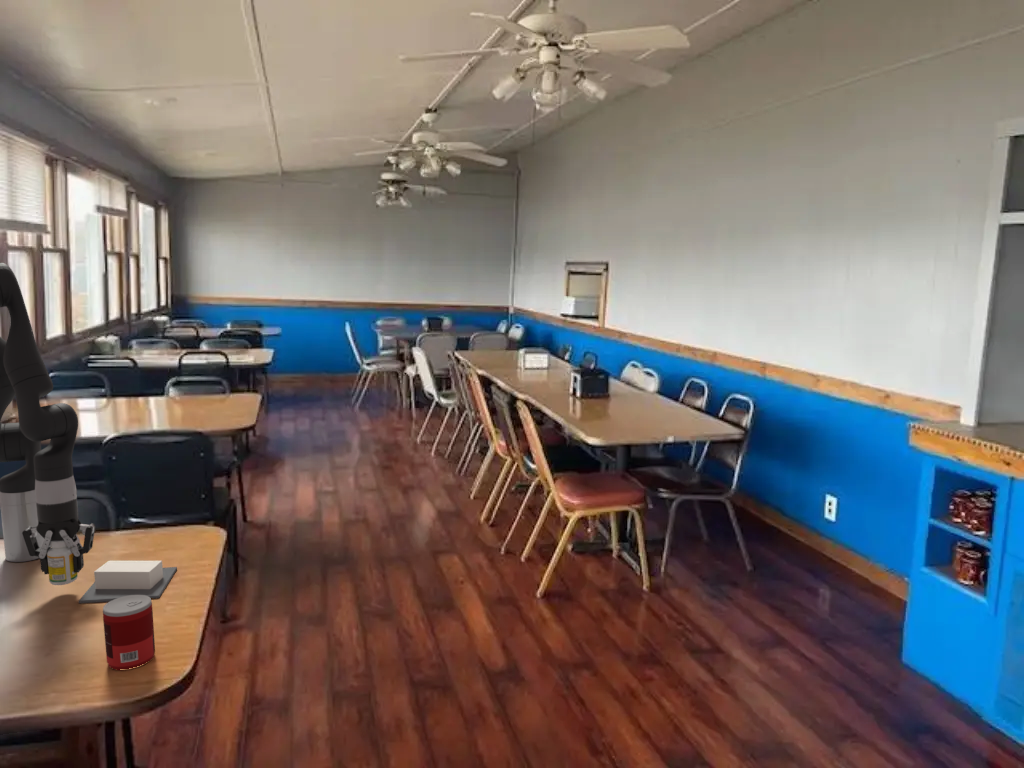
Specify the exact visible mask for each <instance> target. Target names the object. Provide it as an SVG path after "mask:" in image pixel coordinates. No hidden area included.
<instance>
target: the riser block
mask: <svg viewBox="0 0 1024 768" xmlns="http://www.w3.org/2000/svg"><path fill="white" fill-rule="evenodd" d="M163 568H164V567H163V560H107V562H105V563H104V564H102V565H101V566H100V567H98V568H97V569H96V570H94V571H93V573H94V574H93V575H94V576H93V577H94V582H95V588H96V589H151V588H152V587H153V586H154V585H156V584H157V583H158V582H159V581H160V580H161V579H162V578H163Z"/></svg>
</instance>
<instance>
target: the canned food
mask: <svg viewBox="0 0 1024 768" xmlns="http://www.w3.org/2000/svg"><path fill="white" fill-rule="evenodd" d="M153 611H154V610H153V602H152V599H151V598H150V597H148V596H145V595H129V596H124V597H120V598H117V599H114V600H112V601H108V602H106V604H105V605H103V608H102V620H103V630H104V631H103V632H104V643H105V653H106V654H105V655H106V656H105V657H106V663H107V665H108V667H109V668H110V669H111V668H113V669H112V670H114V669H117V670H116V671H121V670H120V669H129V668H133V667H137V666H140V665H142V664H145V663H146V662H148V661H150V660H151V659H152V658H153V659H154V657H155V654H156V646H155V630H154V629H155V628H154V615H153V614H154V613H153ZM153 659H152V660H153ZM152 660H151V661H152ZM151 661H150V662H151ZM148 663H149V662H148ZM145 665H146V664H145Z"/></svg>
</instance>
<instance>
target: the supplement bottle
mask: <svg viewBox="0 0 1024 768" xmlns="http://www.w3.org/2000/svg"><path fill="white" fill-rule="evenodd" d="M50 547H51V548H50V549H49V550H48V552H47V559H48V570H49V574H48V582H49V583H50V584H51V585H52V586H53V585H54V586H64V585H69V584H71V583H73V582H75V581H76V580H77V579H78V573H75V572H74V561H73V557H74V554H73V552H72V550H71V549H70V548H68V546H67V544H66V542H65V541H64V540H62V541H51V542H50Z"/></svg>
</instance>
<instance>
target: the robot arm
mask: <svg viewBox="0 0 1024 768" xmlns="http://www.w3.org/2000/svg"><path fill="white" fill-rule="evenodd" d="M5 307H6V309H7V310H8V313H9V318H10V319H9V320H10V322H9V323H10V325H9V331H8V335H7V339H4V338H2V337H1V336H0V463H8V462H9V463H10V462H11V463H12V462H22V461H25V464H24V465H23V466H22V467H20V468H19V469H17V470H14V471H13V472H10V473H8V474H5V475H3V476H2V477H0V517H1V526H2V535H3V545H4V548H3V549H4V555H5V561H8V562H12V563H21V562H22V563H23V562H29V561H34V560H35V561H36V560H38V559H39V560H40V571H41V572H42V573H44V575H49V570H48V559H47V552H48V550H49V549H50V548H52V547H50V542H51V541H62V540H64V541H65V542H66V544H67V546H68V548H70V549H71V550H72V552H73V554H74V557H73V561H74V572H75V573H77V574H78V573H80V571H82V569H83V568H84V565H85V562H84V554H88V553H89V552H90V551H91V550H92V549H93V545H94V540H95V539H94V538H95V533H96V531H95V530H96V524H95V523H92V522H91V523H90V524H85V523H82V522H81V521H80V520H79V506H78V497H77V494H78V489H77V486H76V481H75V477H74V466H73V453H74V450H75V449H74V448H75V443H76V439H77V434H78V429H79V417H78V414H77V412H76V410H75V409H74V408H73V407H72V406H71V404H68V403H66V402H65V403H63V402H61V403H60V402H59V403H53V404H47V405H44V406H43V405H42V406H41V403H40V399H41V398H43V397H46V395H49V394H50V393H51V392H52V391H53V390H54V383H53V380H52V378H51V376H50V373H49V372H48V369H47V367H46V365H45V362H44V360H43V358H42V356H41V353H40V351H39V348H38V346H37V345H38V344H37V342H36V338H35V336H34V331H33V328H32V327H33V326H32V323H31V320H30V317H29V313H28V309H27V307H26V304H25V300H24V297H23V293H22V291H21V287H20V284H19V281H18V279H17V276H16V275H15V273H14V271H13V270H12V268H11V267H10V266H9V265H8V264H7V263H4V262H0V308H5ZM14 399H16V405H17V406H16V407H17V417H18V419H17V420H18V422H8V423H2V422H1V421H2V417H3V416H4V413H5V411H6V410H7V408H8V407H9V406H10V404H11V403H12V401H13V400H14ZM48 440H50V441H49V443H48V445H47V446H46V447H44V448H43V449H42V442H43V441H48ZM79 531H81V533H82V535H84V539H83V545H82V544H81V542H80V541H81V540H80V538H79V537H78V533H79Z"/></svg>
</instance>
